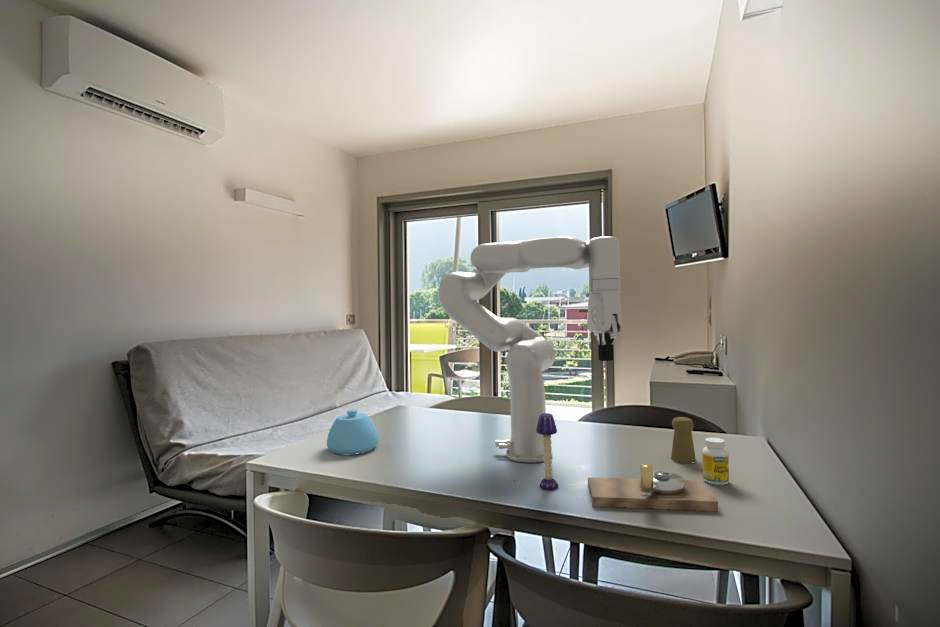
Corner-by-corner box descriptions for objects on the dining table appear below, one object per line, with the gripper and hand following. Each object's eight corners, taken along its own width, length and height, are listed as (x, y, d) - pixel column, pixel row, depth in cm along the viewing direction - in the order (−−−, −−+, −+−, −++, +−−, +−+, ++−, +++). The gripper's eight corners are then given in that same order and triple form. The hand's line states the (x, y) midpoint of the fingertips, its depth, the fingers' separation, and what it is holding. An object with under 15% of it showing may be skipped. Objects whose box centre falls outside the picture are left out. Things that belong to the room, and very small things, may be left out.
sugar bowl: (375, 439, 152) (374, 403, 152) (382, 453, 138) (381, 412, 137) (326, 445, 147) (325, 407, 147) (327, 459, 133) (326, 418, 133)
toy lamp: (558, 491, 106) (556, 416, 106) (537, 491, 107) (535, 416, 106) (558, 483, 111) (556, 412, 110) (538, 482, 112) (536, 411, 111)
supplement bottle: (717, 476, 113) (716, 435, 113) (734, 484, 108) (734, 441, 108) (697, 478, 112) (696, 437, 112) (714, 487, 107) (713, 444, 106)
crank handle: (649, 475, 108) (649, 447, 108) (691, 484, 102) (690, 455, 102) (623, 492, 99) (622, 462, 99) (667, 504, 93) (666, 472, 92)
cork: (698, 464, 121) (698, 420, 121) (673, 463, 123) (672, 420, 122) (692, 456, 127) (692, 415, 127) (668, 455, 129) (667, 414, 128)
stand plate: (592, 506, 98) (592, 495, 98) (588, 486, 109) (587, 476, 109) (718, 511, 94) (717, 500, 94) (700, 489, 105) (700, 479, 105)
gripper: (578, 288, 126) (579, 358, 126) (604, 286, 111) (606, 364, 112) (604, 287, 127) (605, 356, 128) (634, 285, 113) (635, 363, 113)
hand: (606, 360), depth 120 cm, fingers closed
